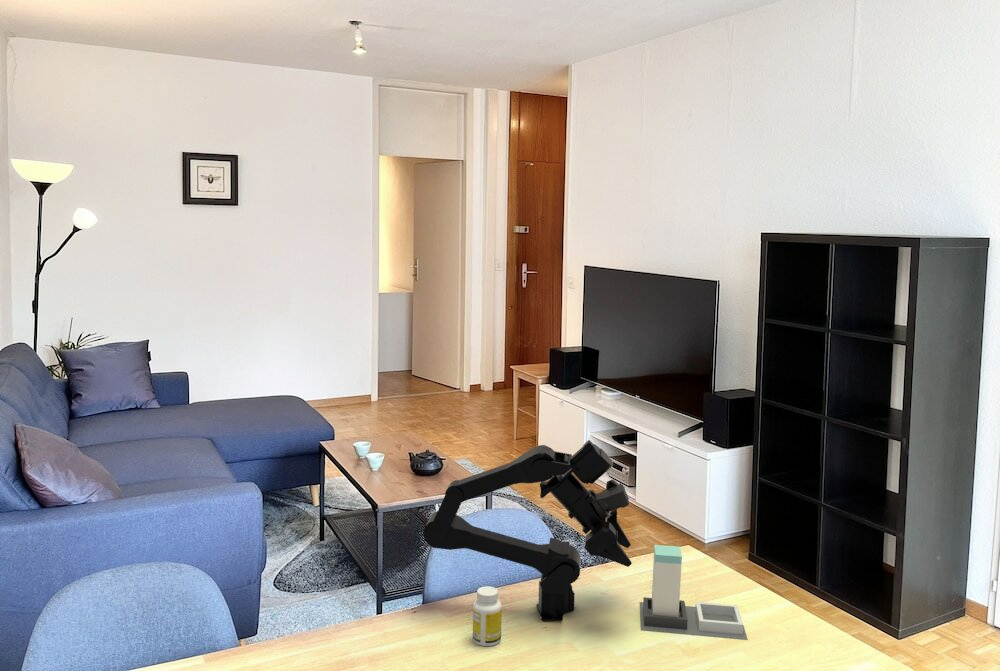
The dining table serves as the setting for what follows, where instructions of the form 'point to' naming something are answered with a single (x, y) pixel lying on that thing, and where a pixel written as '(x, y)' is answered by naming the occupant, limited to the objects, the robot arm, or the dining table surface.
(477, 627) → the supplement bottle
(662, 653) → the dining table surface
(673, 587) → the plug
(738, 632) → the board
